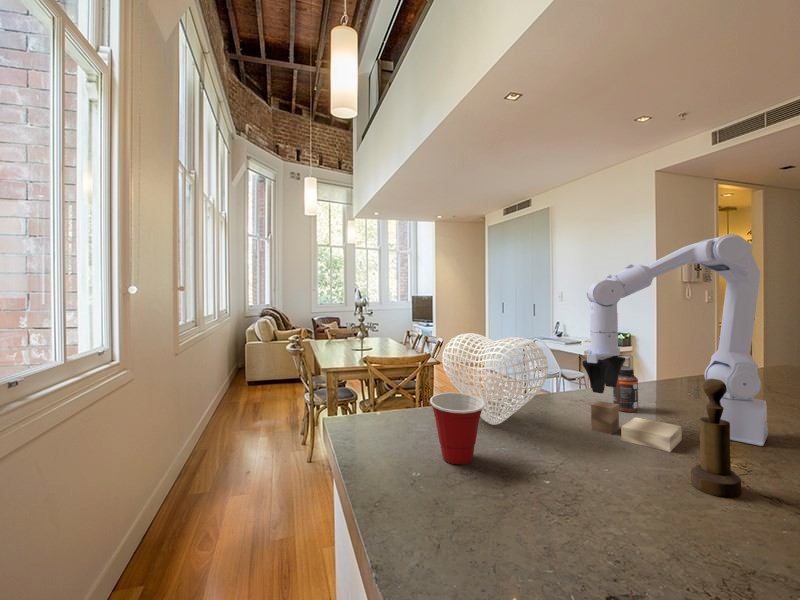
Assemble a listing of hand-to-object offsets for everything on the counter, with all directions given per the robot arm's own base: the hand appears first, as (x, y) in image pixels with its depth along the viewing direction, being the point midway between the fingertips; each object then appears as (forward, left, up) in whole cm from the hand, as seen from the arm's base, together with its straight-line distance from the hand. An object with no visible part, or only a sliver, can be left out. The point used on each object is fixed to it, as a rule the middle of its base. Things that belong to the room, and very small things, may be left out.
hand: (604, 389), depth 93 cm
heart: (+21, +15, -10) cm, 28 cm away
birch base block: (-10, 0, -9) cm, 13 cm away
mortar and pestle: (-23, +16, -10) cm, 30 cm away
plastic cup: (+14, +37, -10) cm, 41 cm away
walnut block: (0, 0, -10) cm, 10 cm away
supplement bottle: (+2, -20, -10) cm, 22 cm away
